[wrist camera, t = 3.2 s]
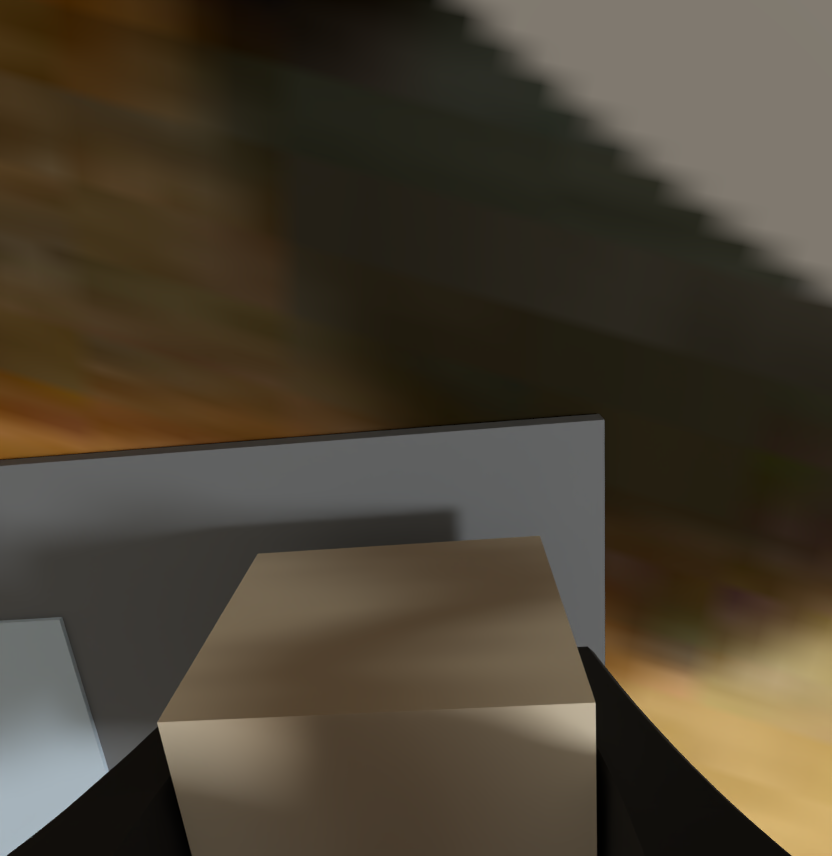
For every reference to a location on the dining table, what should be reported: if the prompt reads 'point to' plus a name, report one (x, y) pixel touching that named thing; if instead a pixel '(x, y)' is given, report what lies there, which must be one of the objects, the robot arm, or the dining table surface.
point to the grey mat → (238, 564)
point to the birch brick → (388, 709)
